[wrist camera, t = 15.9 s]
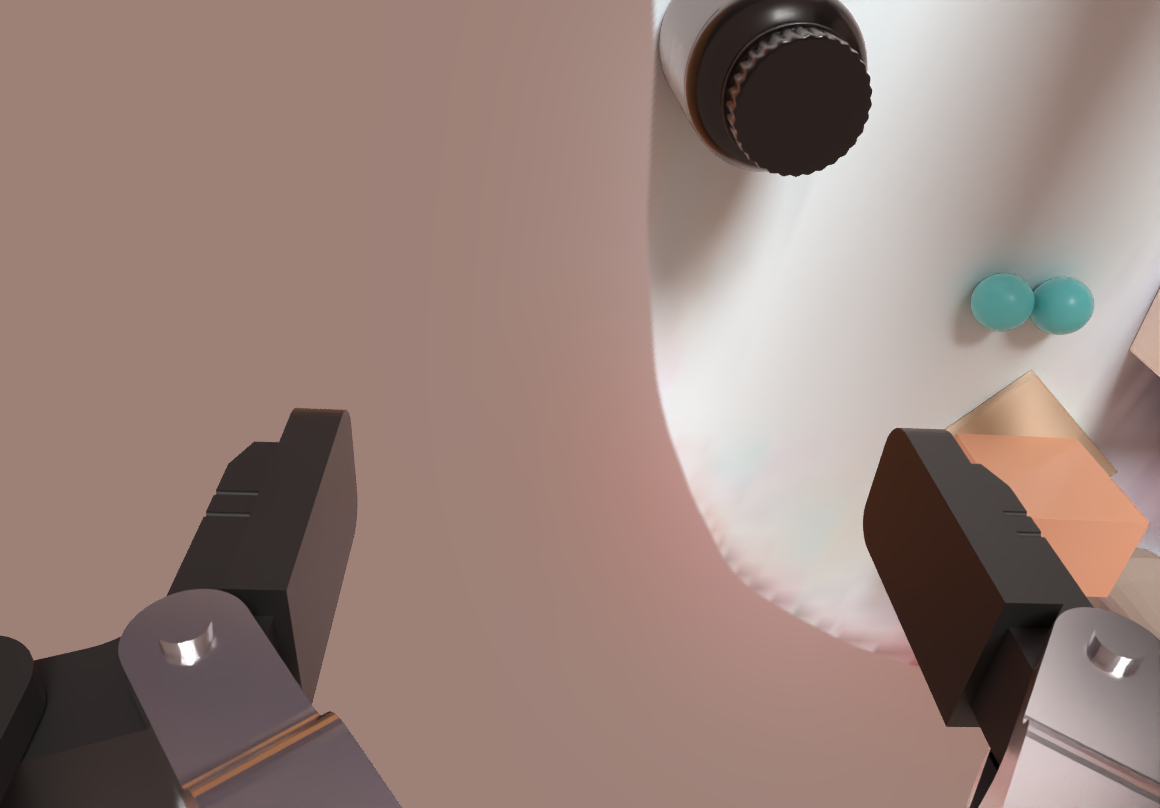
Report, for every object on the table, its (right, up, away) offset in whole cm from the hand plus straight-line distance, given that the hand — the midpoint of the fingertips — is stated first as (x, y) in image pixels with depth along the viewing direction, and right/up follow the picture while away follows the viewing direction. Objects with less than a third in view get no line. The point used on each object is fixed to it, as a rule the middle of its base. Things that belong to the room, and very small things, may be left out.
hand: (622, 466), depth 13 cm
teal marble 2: (+24, +7, +34) cm, 43 cm away
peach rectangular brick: (+25, -3, +40) cm, 47 cm away
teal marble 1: (+21, +7, +34) cm, 41 cm away
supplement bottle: (+6, +17, +27) cm, 33 cm away
